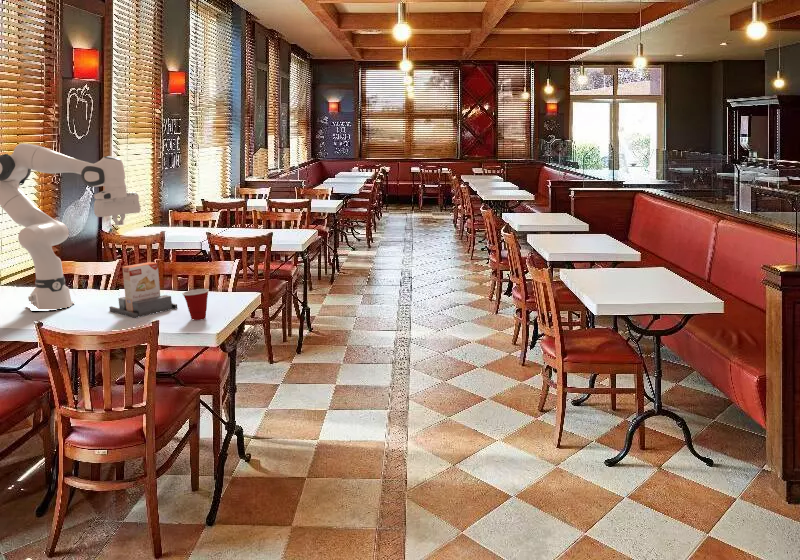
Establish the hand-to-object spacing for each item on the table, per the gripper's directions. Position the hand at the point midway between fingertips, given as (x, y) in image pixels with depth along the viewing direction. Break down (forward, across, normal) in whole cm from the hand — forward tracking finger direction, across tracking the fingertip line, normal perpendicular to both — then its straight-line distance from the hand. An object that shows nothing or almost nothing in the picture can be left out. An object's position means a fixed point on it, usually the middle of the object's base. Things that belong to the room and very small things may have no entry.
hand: (119, 224), depth 321 cm
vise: (+37, 0, +14) cm, 40 cm away
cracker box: (+37, +1, +15) cm, 40 cm away
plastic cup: (+37, -5, +47) cm, 60 cm away
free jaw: (+37, 0, +10) cm, 38 cm away
